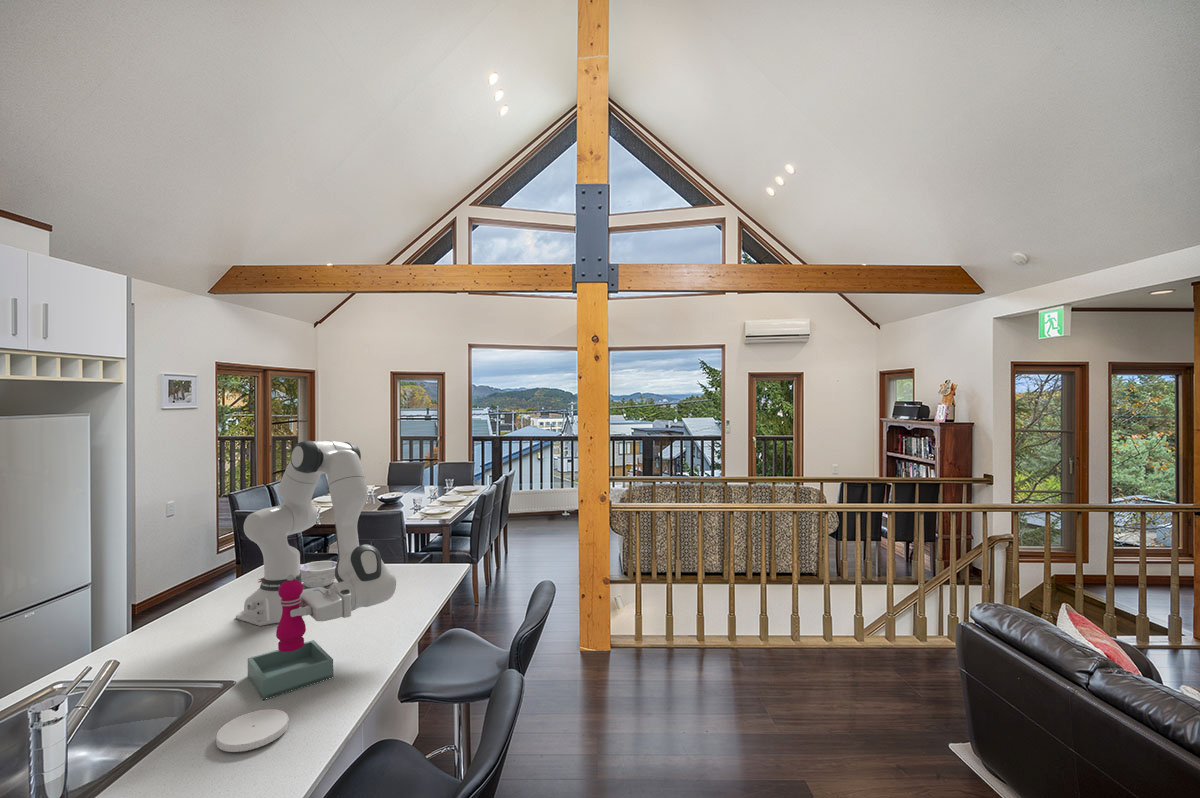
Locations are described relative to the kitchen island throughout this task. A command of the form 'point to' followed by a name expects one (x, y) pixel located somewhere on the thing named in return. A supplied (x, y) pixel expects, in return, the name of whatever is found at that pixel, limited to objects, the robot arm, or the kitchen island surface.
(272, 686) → the tote
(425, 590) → the kitchen island surface
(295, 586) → the pepper mill
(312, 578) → the white bowl
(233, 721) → the plastic lid
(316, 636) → the kitchen island surface
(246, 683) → the kitchen island surface
